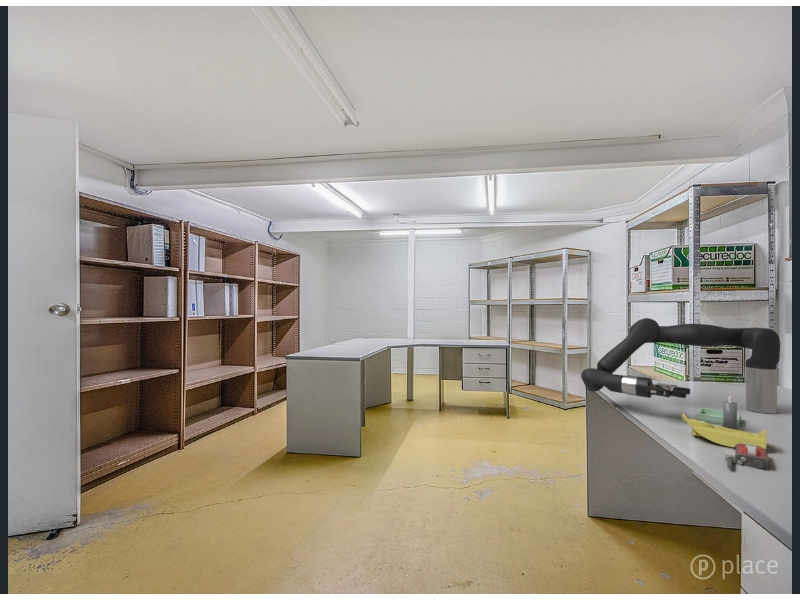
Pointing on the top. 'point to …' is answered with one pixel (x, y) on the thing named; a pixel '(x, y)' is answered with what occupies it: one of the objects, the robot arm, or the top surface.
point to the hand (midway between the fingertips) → (688, 393)
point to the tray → (713, 416)
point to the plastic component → (725, 434)
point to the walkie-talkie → (747, 456)
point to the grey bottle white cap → (730, 414)
